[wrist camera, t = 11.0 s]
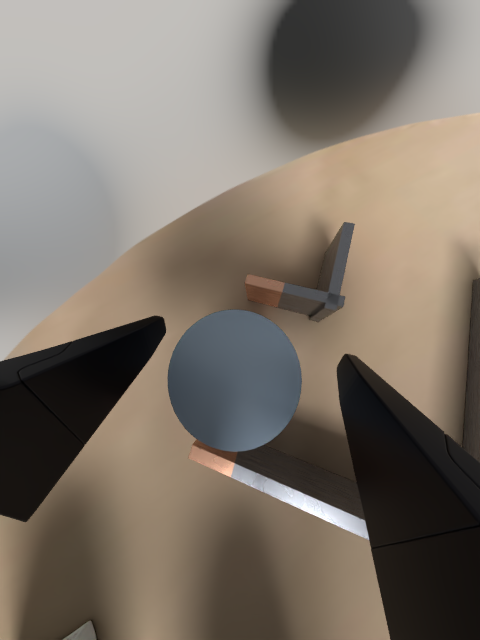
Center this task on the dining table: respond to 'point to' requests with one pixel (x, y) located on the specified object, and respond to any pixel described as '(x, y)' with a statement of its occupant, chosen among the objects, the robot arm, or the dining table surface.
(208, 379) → the slate peg
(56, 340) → the dining table surface
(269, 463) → the bent channel
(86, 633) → the supplement box
